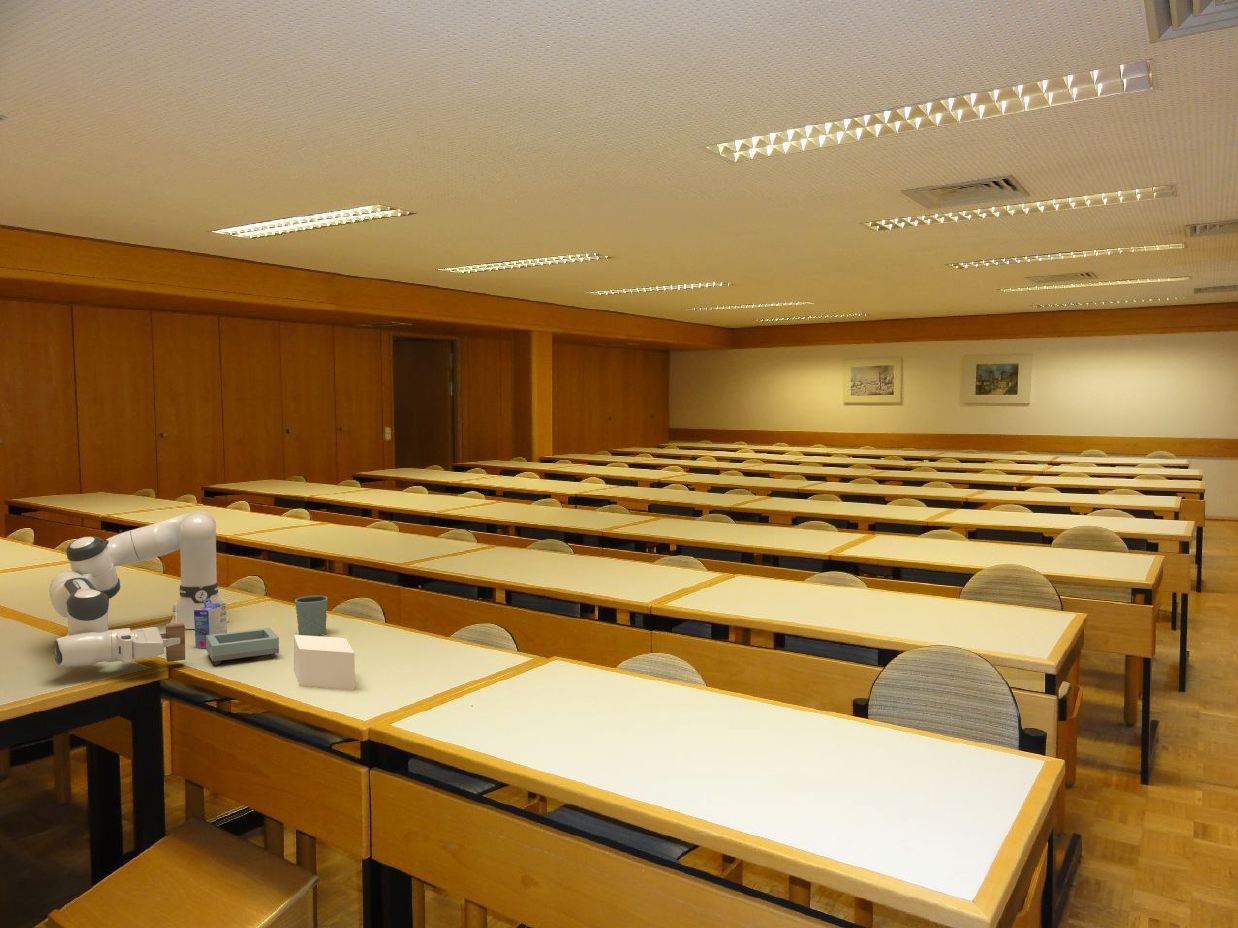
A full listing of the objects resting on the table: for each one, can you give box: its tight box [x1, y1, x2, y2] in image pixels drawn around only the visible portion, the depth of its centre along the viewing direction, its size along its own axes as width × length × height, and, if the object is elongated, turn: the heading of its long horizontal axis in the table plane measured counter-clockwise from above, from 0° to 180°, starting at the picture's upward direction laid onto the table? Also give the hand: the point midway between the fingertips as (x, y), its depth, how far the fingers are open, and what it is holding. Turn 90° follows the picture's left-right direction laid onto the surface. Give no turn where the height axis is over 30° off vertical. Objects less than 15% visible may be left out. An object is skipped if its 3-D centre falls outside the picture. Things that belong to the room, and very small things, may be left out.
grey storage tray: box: [205, 627, 280, 666], centre depth 252 cm, size 14×18×6 cm
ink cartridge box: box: [194, 598, 228, 649], centre depth 265 cm, size 10×6×14 cm, turn 174°
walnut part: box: [165, 622, 186, 663], centre depth 242 cm, size 4×4×10 cm
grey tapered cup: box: [294, 595, 328, 636], centre depth 279 cm, size 10×10×12 cm
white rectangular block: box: [293, 634, 356, 691], centre depth 232 cm, size 14×29×10 cm, turn 53°
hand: (178, 637), depth 243 cm, fingers closed on walnut part, 4 cm apart
